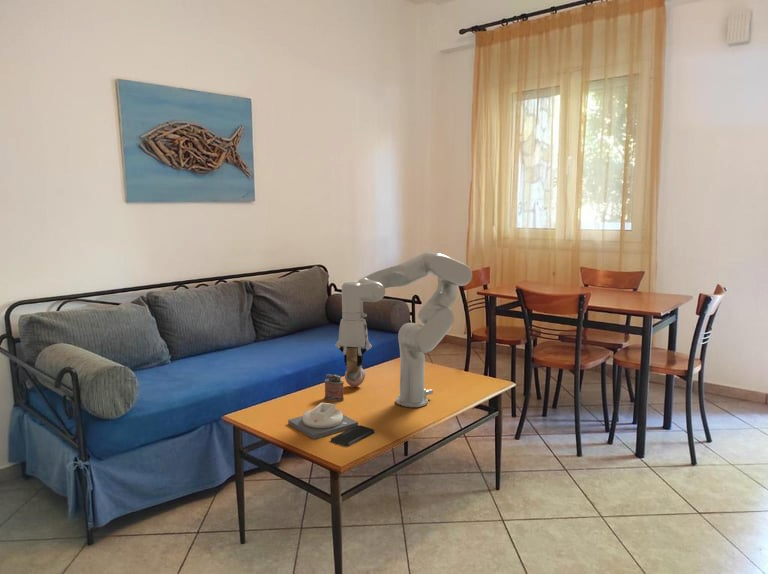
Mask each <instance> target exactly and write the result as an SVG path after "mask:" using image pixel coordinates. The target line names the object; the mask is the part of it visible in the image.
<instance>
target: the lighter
mask: <svg viewBox="0 0 768 574" xmlns="http://www.w3.org/2000/svg"><path fill="white" fill-rule="evenodd" d="M344 384H345V382H344V381H343V380H341V376H340V375H337V374H330V373H329V374H326V375H325V380H324V393H325V394H324V399H325V400H328V401H332V402H333V401H334V402H344V400H345V397H344Z"/></svg>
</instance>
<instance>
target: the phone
mask: <svg viewBox="0 0 768 574" xmlns="http://www.w3.org/2000/svg"><path fill="white" fill-rule="evenodd" d="M375 431H376V430H375V429H374V428H370V427H367V426H364V425H360V424H358V425H357V426H355V427H353V428H351V429H347V430H344V431H342V432H341V433H339V434H336V435H334V436H332V437H331V438H330V442H331V443H334V444H337V445H340V446H343V447H347V448H348V447H351V446H352V445H354V444H356V443H358V442H360V441H362V440H364V439H366V438H367V437H370V436H372V435H373V434H375V433H376V432H375Z"/></svg>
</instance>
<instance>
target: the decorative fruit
mask: <svg viewBox="0 0 768 574" xmlns="http://www.w3.org/2000/svg"><path fill="white" fill-rule="evenodd" d="M347 373H348V372H347V369H346V371H345V372H344V379H345V382H346V383H347V384H348V385H349V386H351V387H353V388H357V387H359V386H360V385H362V383H363V382H364V380H365V378H366V372H365V370H364V368H363V366H362V365H361V376H360V377H359V378H358V379H357V380H356V381H355V382H351V381H347Z"/></svg>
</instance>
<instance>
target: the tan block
mask: <svg viewBox="0 0 768 574" xmlns="http://www.w3.org/2000/svg"><path fill="white" fill-rule="evenodd" d="M346 356H347V366H346V370H347V372H348V373H347V381H351V382H355V381H356V380H357V379H358V378H359V377H360V376H361V368H362V367H361V366H362V365H361V366H358V364H357V356H358V349H357V348H355V347H347V348H346Z"/></svg>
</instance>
